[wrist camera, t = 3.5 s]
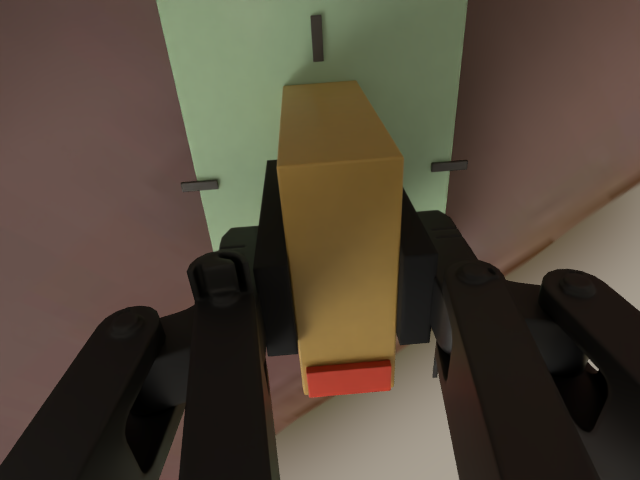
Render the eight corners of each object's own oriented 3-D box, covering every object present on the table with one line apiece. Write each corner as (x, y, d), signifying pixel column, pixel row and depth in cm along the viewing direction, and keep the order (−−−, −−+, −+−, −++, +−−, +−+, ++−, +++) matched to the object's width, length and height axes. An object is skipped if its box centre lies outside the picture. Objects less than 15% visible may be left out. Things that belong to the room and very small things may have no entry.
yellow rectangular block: (282, 85, 15) (276, 170, 8) (356, 79, 15) (407, 160, 8) (299, 252, 19) (304, 403, 12) (359, 247, 19) (396, 395, 12)
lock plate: (159, -8, 16) (132, -5, 13) (459, -29, 16) (492, -30, 13) (222, 274, 23) (213, 314, 20) (432, 257, 23) (450, 294, 20)
